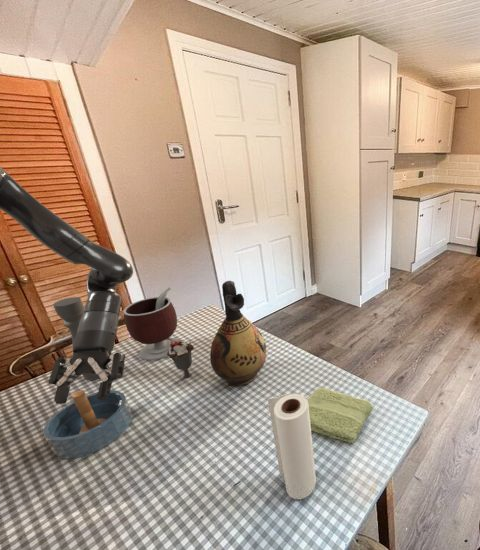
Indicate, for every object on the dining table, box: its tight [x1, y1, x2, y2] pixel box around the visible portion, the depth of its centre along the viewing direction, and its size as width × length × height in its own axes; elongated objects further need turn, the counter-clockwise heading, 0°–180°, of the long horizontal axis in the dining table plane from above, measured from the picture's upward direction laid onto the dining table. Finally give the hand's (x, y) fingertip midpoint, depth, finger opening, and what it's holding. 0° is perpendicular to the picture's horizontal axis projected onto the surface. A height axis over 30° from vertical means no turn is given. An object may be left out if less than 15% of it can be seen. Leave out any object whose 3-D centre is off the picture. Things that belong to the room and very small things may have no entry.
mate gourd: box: [123, 287, 181, 361], centre depth 102 cm, size 16×14×20 cm
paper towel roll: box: [267, 393, 317, 500], centre depth 58 cm, size 7×6×21 cm
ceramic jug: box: [209, 280, 268, 388], centre depth 88 cm, size 17×15×30 cm
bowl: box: [42, 389, 133, 460], centre depth 72 cm, size 15×15×6 cm
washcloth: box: [306, 387, 374, 444], centre depth 77 cm, size 13×18×3 cm
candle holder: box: [52, 296, 111, 381], centre depth 89 cm, size 6×6×25 cm
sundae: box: [167, 337, 195, 380], centre depth 89 cm, size 7×7×15 cm
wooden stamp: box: [71, 389, 106, 434], centre depth 71 cm, size 5×5×12 cm
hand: (81, 401), depth 70 cm, fingers open, 8 cm apart
